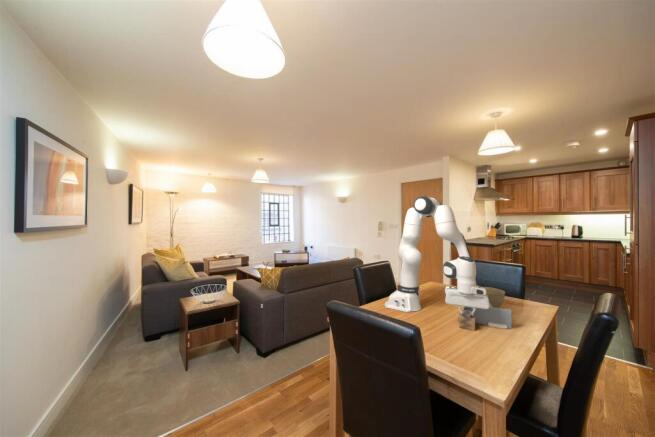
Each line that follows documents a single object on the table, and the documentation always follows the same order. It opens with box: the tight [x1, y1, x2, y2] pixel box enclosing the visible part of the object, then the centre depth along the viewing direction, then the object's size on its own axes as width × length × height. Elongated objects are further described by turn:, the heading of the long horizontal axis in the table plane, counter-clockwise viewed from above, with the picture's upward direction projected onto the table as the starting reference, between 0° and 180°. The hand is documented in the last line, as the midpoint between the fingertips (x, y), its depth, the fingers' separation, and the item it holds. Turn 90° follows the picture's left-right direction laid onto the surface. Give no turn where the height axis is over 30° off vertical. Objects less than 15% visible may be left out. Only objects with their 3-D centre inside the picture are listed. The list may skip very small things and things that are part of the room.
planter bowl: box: [482, 286, 506, 308], centre depth 161 cm, size 16×16×11 cm
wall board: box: [464, 306, 512, 329], centre depth 136 cm, size 21×4×9 cm, turn 62°
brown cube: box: [458, 307, 476, 332], centre depth 134 cm, size 7×7×9 cm
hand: (466, 314), depth 134 cm, fingers closed on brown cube, 3 cm apart
